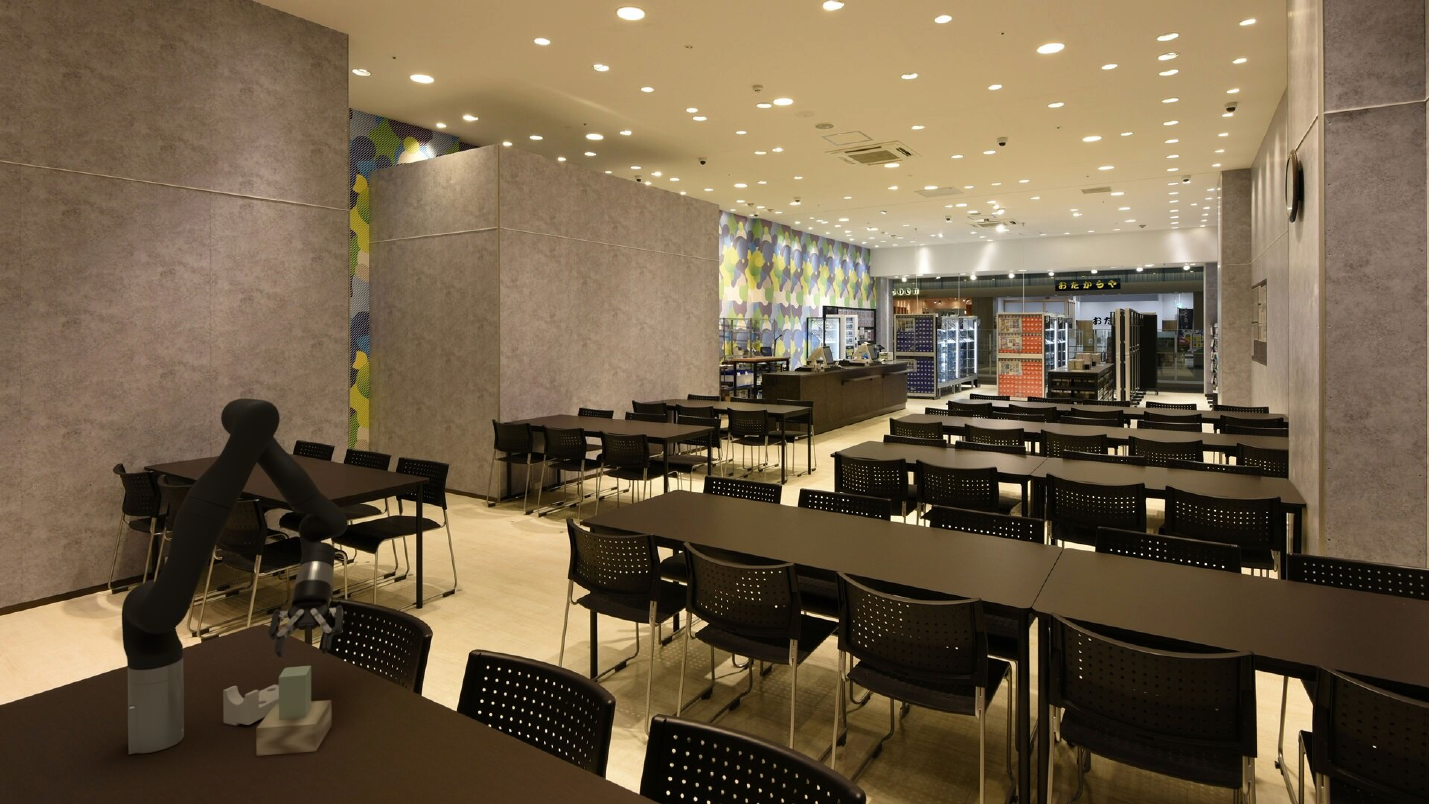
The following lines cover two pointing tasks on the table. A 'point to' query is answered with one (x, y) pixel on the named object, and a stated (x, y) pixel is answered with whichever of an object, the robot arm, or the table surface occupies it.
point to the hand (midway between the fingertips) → (302, 654)
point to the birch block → (293, 730)
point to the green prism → (294, 692)
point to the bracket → (248, 704)
